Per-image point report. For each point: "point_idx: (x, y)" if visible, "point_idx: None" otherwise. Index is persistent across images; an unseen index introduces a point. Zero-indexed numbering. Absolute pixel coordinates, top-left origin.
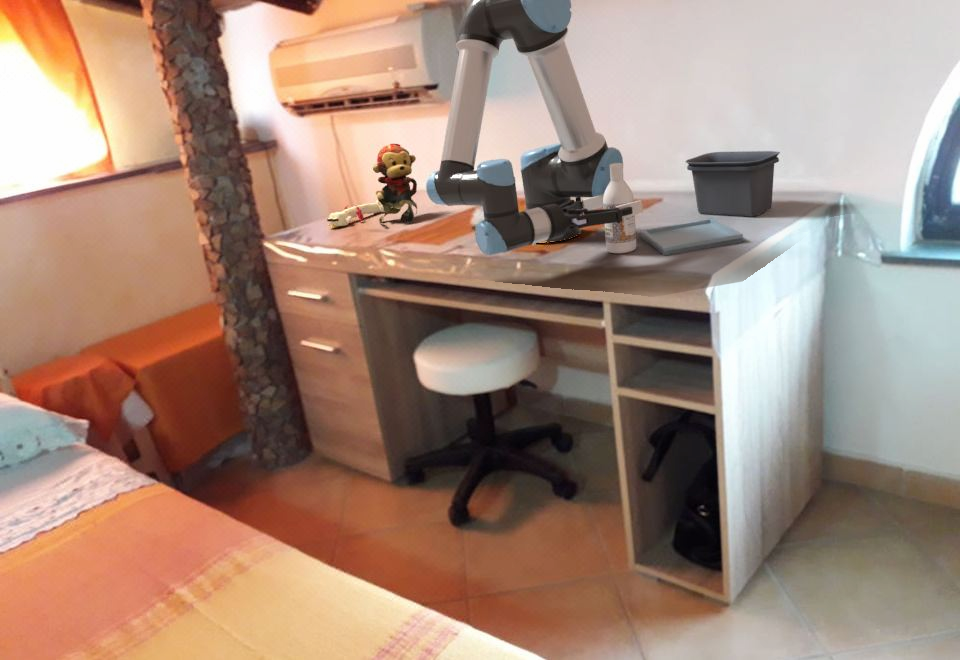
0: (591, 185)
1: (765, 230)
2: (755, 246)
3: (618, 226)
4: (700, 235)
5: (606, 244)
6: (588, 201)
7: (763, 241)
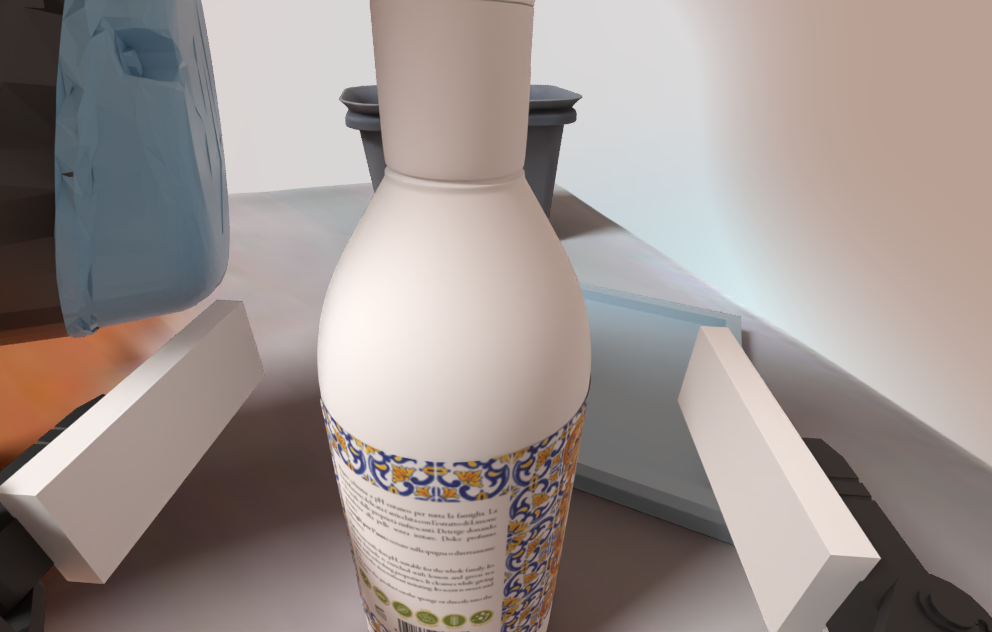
0: (41, 257)
1: (662, 277)
2: (804, 348)
3: (546, 563)
4: (618, 350)
5: None
6: (109, 461)
7: (762, 320)
